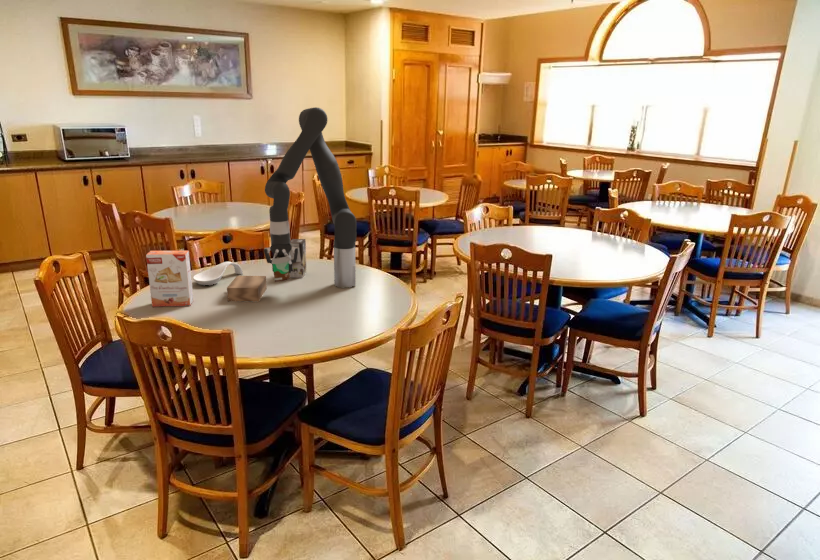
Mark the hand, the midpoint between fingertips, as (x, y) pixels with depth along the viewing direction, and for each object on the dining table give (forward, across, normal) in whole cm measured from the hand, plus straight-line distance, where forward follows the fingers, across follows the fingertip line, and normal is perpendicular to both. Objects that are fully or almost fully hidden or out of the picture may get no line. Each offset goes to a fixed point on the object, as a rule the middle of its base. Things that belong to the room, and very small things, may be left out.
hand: (282, 272), depth 218 cm
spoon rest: (+10, +31, -21) cm, 39 cm away
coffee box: (+10, -3, -28) cm, 30 cm away
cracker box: (+9, +41, +10) cm, 43 cm away
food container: (+3, -1, 0) cm, 3 cm away
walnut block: (+10, +15, 0) cm, 18 cm away
